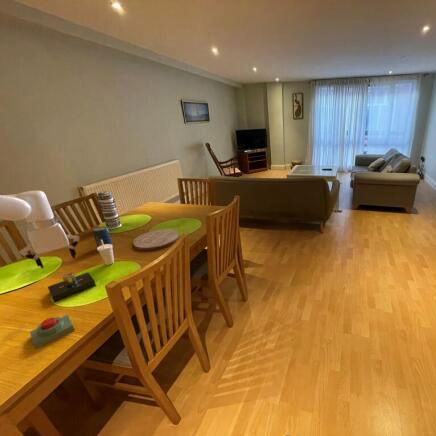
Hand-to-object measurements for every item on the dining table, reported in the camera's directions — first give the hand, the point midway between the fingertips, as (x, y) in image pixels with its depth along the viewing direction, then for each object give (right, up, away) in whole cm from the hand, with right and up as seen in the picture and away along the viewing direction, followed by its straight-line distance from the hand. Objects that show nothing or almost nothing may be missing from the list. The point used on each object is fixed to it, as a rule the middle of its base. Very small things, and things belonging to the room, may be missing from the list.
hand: (58, 261), depth 98 cm
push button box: (+12, -23, -14) cm, 29 cm away
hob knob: (-1, -11, +7) cm, 13 cm away
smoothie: (+1, -6, +27) cm, 28 cm away
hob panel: (-1, -14, +8) cm, 16 cm away
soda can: (-14, +1, +43) cm, 45 cm away
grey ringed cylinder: (-29, +12, +70) cm, 76 cm away
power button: (+12, -19, -15) cm, 27 cm away
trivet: (+12, +4, +51) cm, 52 cm away
